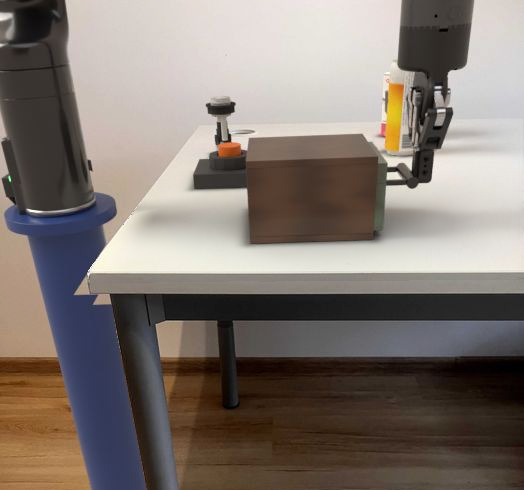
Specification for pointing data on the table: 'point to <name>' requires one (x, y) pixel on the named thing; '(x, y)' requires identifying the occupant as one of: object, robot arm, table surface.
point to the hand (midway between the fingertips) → (420, 181)
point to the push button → (221, 117)
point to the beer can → (398, 112)
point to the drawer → (389, 184)
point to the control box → (221, 171)
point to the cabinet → (311, 188)
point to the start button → (229, 149)
